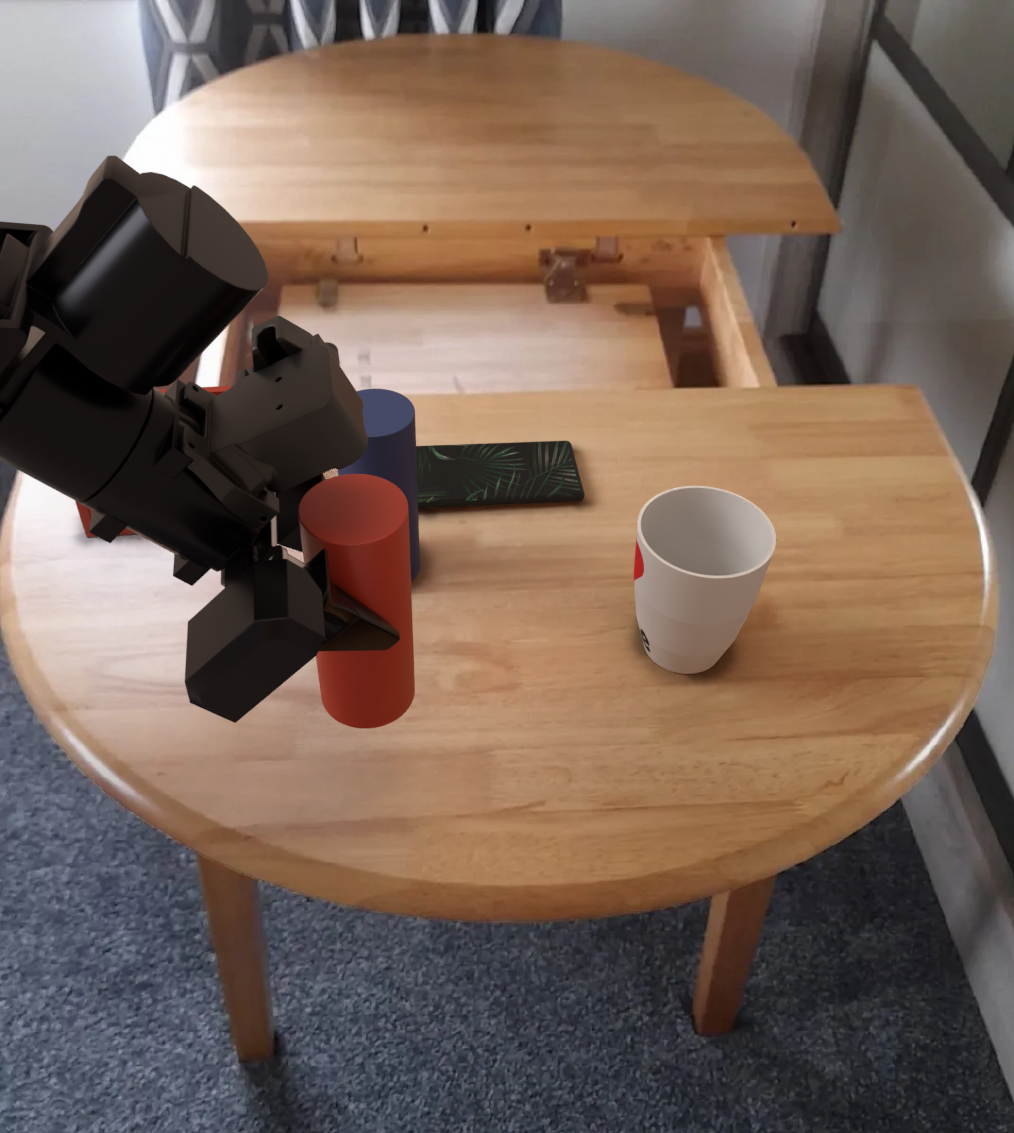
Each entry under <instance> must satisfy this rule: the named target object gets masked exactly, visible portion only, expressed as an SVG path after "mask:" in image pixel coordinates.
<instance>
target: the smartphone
mask: <svg viewBox="0 0 1014 1133" xmlns="http://www.w3.org/2000/svg"><path fill="white" fill-rule="evenodd" d="M416 457H417V487H418V511H425V510H426V511H429V510H430V509H441V508H443V509H445V508H463V507H464V508H465V507H467V508H468V507H488V506H509V505H510V506H511V505H512V506H513V505H534V504H538V505H539V504H557V503H579V502H582V501H584V499H585V490H584V487H583V483H582V482H583V481H582V479H581V475H580V470H579V467H578V464H577V460H576V455H575V453H574V449H573V445H572V443H571V441H569V440H545V441H544V440H543V441H518V442H517V441H516V442H494V443H493V442H488V443H486V442H485V443H464V444H463V443H461V444H436V445H431V444H430V445H416Z"/></svg>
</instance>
